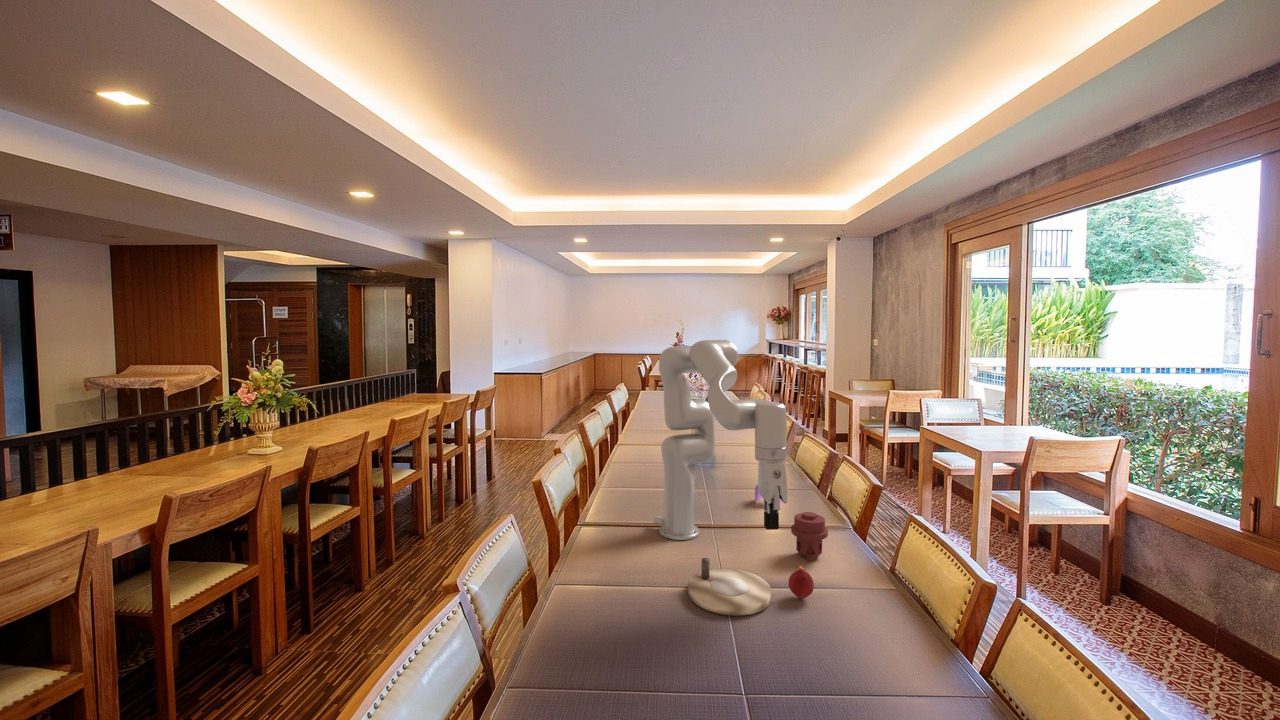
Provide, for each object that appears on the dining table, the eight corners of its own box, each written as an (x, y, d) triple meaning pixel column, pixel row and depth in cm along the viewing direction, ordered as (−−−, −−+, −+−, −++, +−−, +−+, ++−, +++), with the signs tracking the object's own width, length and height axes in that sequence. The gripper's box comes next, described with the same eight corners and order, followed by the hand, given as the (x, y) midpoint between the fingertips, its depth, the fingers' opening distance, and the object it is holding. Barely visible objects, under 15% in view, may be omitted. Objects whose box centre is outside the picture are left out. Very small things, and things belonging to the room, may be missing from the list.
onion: (813, 595, 130) (814, 563, 130) (813, 606, 125) (813, 573, 124) (789, 591, 132) (789, 559, 131) (787, 602, 126) (788, 570, 126)
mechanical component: (824, 550, 156) (829, 565, 147) (789, 547, 158) (792, 562, 149) (825, 509, 156) (830, 521, 146) (790, 507, 158) (792, 518, 148)
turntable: (743, 625, 116) (744, 596, 115) (671, 595, 129) (671, 569, 129) (785, 591, 131) (786, 565, 130) (717, 567, 144) (717, 544, 144)
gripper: (796, 459, 122) (796, 539, 122) (777, 447, 137) (777, 517, 137) (763, 460, 122) (764, 540, 122) (748, 447, 137) (748, 518, 137)
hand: (771, 528), depth 130 cm, fingers closed
